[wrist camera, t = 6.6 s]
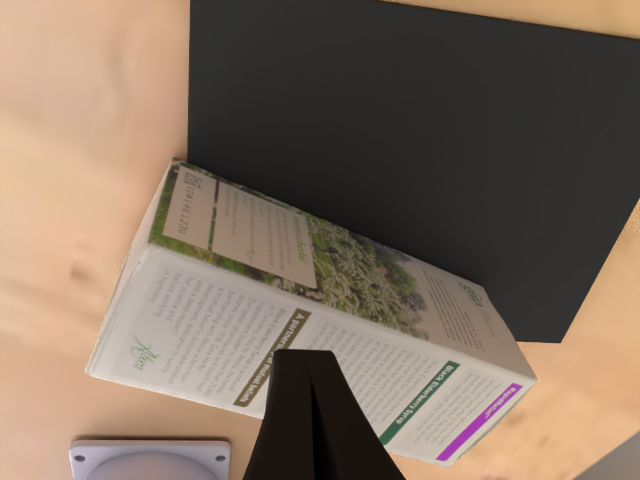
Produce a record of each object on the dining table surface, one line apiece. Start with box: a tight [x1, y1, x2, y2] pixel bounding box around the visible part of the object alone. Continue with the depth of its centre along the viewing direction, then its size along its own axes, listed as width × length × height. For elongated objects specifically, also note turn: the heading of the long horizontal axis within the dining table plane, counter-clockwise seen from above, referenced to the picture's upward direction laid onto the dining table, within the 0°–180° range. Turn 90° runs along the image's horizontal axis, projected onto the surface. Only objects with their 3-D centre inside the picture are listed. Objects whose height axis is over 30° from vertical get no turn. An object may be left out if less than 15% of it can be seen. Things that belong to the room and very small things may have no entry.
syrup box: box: [85, 157, 537, 467], centre depth 20 cm, size 6×6×14 cm
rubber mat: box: [187, 0, 640, 343], centre depth 21 cm, size 14×18×1 cm
